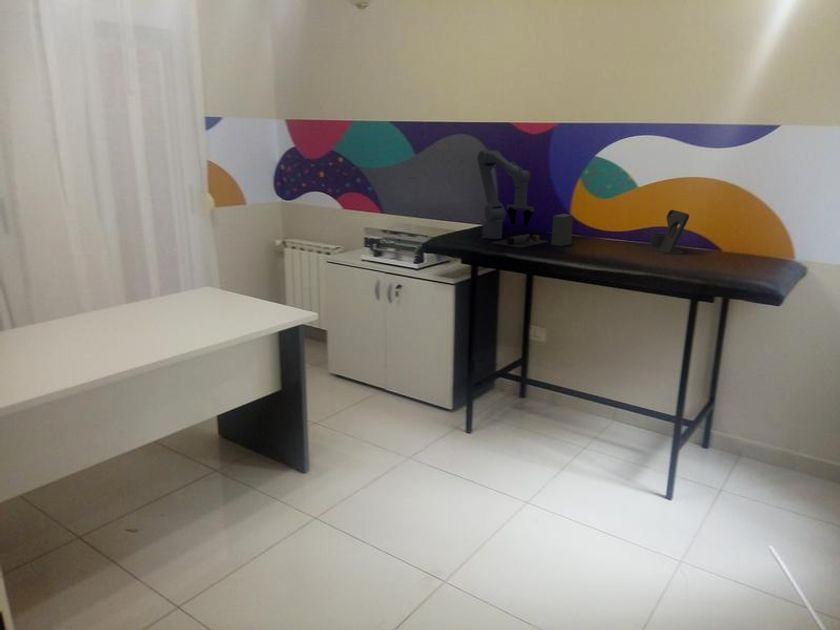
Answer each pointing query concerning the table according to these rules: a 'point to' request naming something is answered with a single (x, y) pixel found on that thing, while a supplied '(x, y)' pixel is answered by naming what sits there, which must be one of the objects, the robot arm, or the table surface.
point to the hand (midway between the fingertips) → (519, 225)
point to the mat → (522, 244)
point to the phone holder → (670, 234)
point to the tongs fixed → (518, 236)
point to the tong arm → (517, 239)
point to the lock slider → (535, 237)
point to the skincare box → (562, 229)
